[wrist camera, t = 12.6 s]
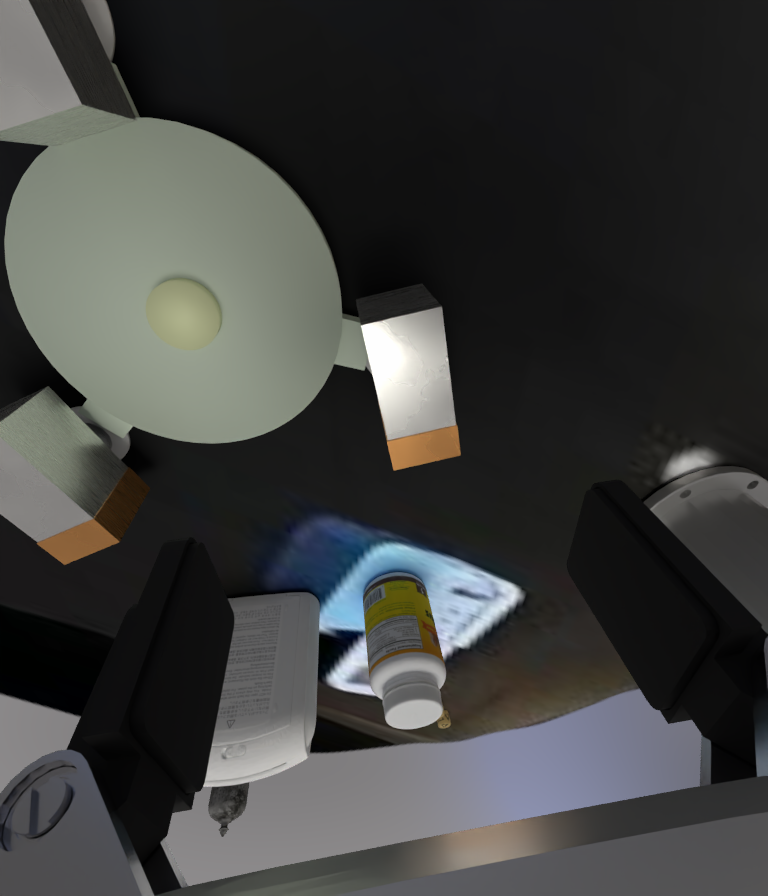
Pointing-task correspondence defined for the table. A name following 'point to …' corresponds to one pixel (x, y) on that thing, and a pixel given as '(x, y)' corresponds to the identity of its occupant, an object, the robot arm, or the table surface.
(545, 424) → the table surface
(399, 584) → the supplement bottle
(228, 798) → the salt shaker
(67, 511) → the orange-tipped grey block
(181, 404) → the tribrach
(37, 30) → the orange-tipped eraser
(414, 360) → the white and orange block
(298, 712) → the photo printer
